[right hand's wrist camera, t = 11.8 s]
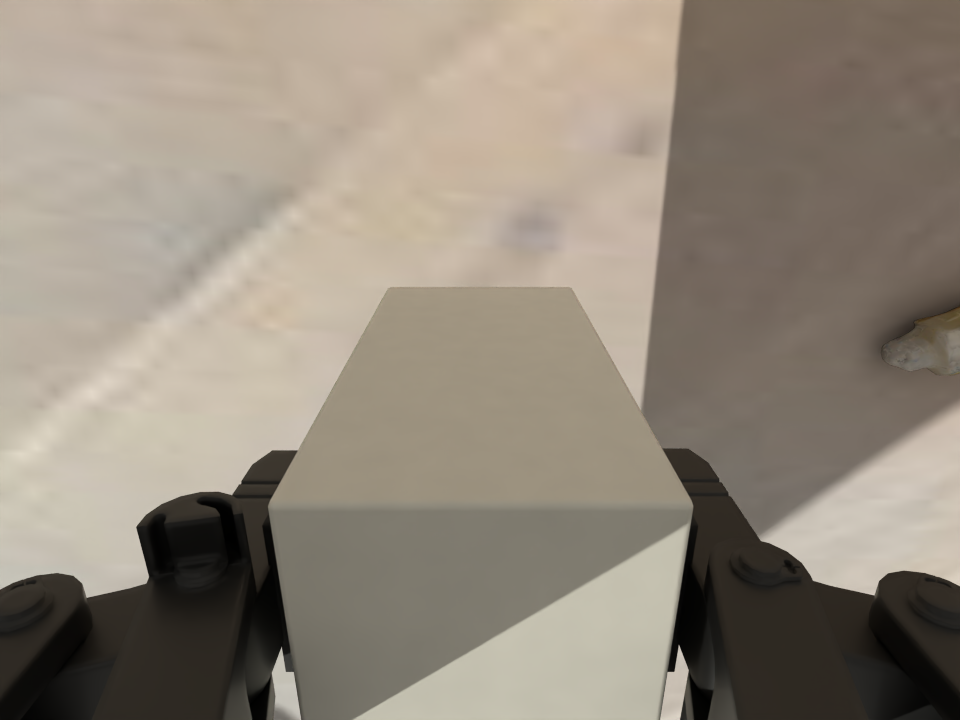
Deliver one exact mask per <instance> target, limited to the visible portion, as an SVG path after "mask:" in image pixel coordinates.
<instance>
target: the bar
mask: <svg viewBox="0 0 960 720" xmlns="http://www.w3.org/2000/svg"><path fill="white" fill-rule="evenodd" d="M268 510H269V516H270V523H271V529H272V536H273V542H274V548H275V555H276V561H277V567H278V574H279V580H280V587H281V593H282V599H283V606H284V612H285V618H286V625H287V631H288V637H289V644H290V650H291V657H292V663H293V669H294V676H295V682H296V688H297V695H298V701H299V708H300V714H301V720H660V716H661V710H662V703H663V697H664V691H665V684H666V678H667V672H668V665H669V659H670V652H671V646H672V640H673V633H674V627H675V621H676V614H677V608H678V601H679V595H680V589H681V582H682V576H683V570H684V563H685V557H686V550H687V544H688V538H689V531H690V525H691V519H692V512H693V504H692V501H691V499H690V497H689V495H688V494H687V492H686V490H685V488H684V486H683V485H682V483H681V481H680V479H679V478H678V476H677V474H676V472H675V471H674V469H673V467H672V465H671V463H670V462H669V460H668V458H667V456H666V455H665V453H664V451H663V449H662V448H661V446H660V444H659V442H658V440H657V439H656V437H655V435H654V433H653V432H652V430H651V428H650V426H649V424H648V423H647V421H646V419H645V417H644V416H643V414H642V412H641V410H640V409H639V407H638V405H637V403H636V401H635V400H634V398H633V396H632V394H631V393H630V391H629V389H628V387H627V386H626V384H625V382H624V380H623V378H622V377H621V375H620V373H619V371H618V370H617V368H616V366H615V364H614V363H613V361H612V359H611V357H610V355H609V354H608V352H607V350H606V348H605V347H604V345H603V343H602V341H601V340H600V338H599V336H598V334H597V332H596V331H595V329H594V327H593V325H592V324H591V322H590V320H589V318H588V317H587V315H586V313H585V311H584V309H583V308H582V306H581V304H580V302H579V301H578V299H577V297H576V295H575V294H574V292H573V290H572V288H570V287H391V288H388V290H387V291H386V293H385V295H384V297H383V299H382V300H381V302H380V304H379V306H378V308H377V309H376V311H375V313H374V315H373V317H372V318H371V320H370V322H369V324H368V326H367V327H366V329H365V331H364V333H363V335H362V336H361V338H360V340H359V342H358V344H357V345H356V347H355V349H354V351H353V353H352V354H351V356H350V358H349V360H348V362H347V363H346V365H345V367H344V369H343V371H342V372H341V374H340V376H339V378H338V380H337V381H336V383H335V385H334V387H333V389H332V390H331V392H330V394H329V396H328V398H327V399H326V401H325V403H324V405H323V406H322V408H321V410H320V412H319V414H318V415H317V417H316V419H315V421H314V423H313V424H312V426H311V428H310V430H309V432H308V433H307V435H306V437H305V439H304V441H303V442H302V444H301V446H300V448H299V450H298V451H297V453H296V455H295V457H294V459H293V460H292V462H291V464H290V466H289V468H288V469H287V471H286V473H285V475H284V477H283V478H282V480H281V482H280V484H279V486H278V487H277V489H276V491H275V493H274V495H273V496H272V498H271V500H270V502H269V505H268Z"/></svg>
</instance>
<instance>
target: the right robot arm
mask: <svg viewBox="0 0 960 720" xmlns="http://www.w3.org/2000/svg"><path fill="white" fill-rule="evenodd" d="M663 451H664V453H665V455H666V456H667V458H668V460H669V462H670V463H671V465H672V467H673V469H674V471H675V472H676V474H677V476H678V478H679V479H680V481H681V483H682V485H683V486H684V488H685V490H686V492H687V494H688V495H689V497H690V499H691V501H692V504H693V512H692V519H691V525H690V531H689V538H688V544H687V550H686V557H685V563H684V570H683V576H682V582H681V589H680V595H679V601H678V608H677V614H676V621H675V627H674V633H673V640H672V646H671V652H670V659H669V665H668V672H674V671H675V665H676V658H677V652H678V646H680V648H681V651H682V653H683V656H684V659H685V661H686V664H687V666H688V669H689V673H688V678H687V684H686V689H685V695H684V701H683V706H682V712H681V718H680V720H960V586H958V585H956V584H954V583H952V582H950V581H948V580H945V579H942V578H940V577H935V576H933V575H929V574H926V573H919V572H911V571H899V572H894V573H888V574H887V575H886V576H885V577H883V578H882V579H881V580H880V581H879V583H878V587H877V590H876V593H875V596H874V595H869V594H865V593H860V592H856V591H851V590H846V589H842V588H837V587H833V586H829V585H825V584H822V583H818V582H815V581H813V580H812V578H811V576H810V574H809V573H808V571H807V570H806V569H805V567H804V566H803V564H802V563H801V562H800V561H798V560H797V559H796V558H794V557H793V556H792V555H791V554H789V553H788V552H787V551H784V550H782V549H780V548H778V547H776V546H774V545H772V544H770V543H766V542H762V541H760V539H759V538H758V536H757V535H756V533H755V532H754V530H753V529H752V527H751V526H750V524H749V523H748V521H747V520H746V518H745V517H744V515H743V514H742V512H741V511H740V510H739V508H738V507H737V505H736V504H735V502H734V501H733V499H732V498H731V496H728V492H727V490H726V489H725V487H724V486H723V484H722V483H720V482H719V478H718V477H717V475H716V474H715V472H714V471H713V469H712V468H711V466H710V465H709V463H708V462H706V461H705V460H703V459H702V458H701V457H699V456H698V455H696V454H695V453H694V452H692V451H691V450H689V449H663ZM296 453H297V451H271V452H270V453H268V454H267V455H265V456H264V457H263V458H261V459H260V460H258V461H257V462H256V463H254V464H253V465H252V466H251V468H250V469H249V471H248V472H247V474H246V475H245V477H244V478H243V480H242V481H241V482H242V483H241V484H239V486H238V487H237V489H236V490H235V492H234V493H233V495H229V494H225V493H221V492H199V493H194V494H190V495H185V496H181V497H178V498H176V499H173V500H171V501H169V502H166V503H164V504H161V505H160V506H158V507H157V508H156V509H154V510H153V511H151V512H150V513H148V514H147V515H146V516H145V517H144V518H143V519H142V521H141V522H140V523H139V524H138V526H137V527H136V528H137V532H138V535H139V539H140V543H141V547H142V551H143V555H144V558H145V562H146V566H147V570H148V574H149V579H148V581H147V584H144V585H140V586H137V587H133V588H130V589H125V590H121V591H116V592H112V593H107V594H103V595H98V596H94V597H89V598H86V595H85V591H84V588H83V585H82V583H81V582H80V581H78V580H77V579H76V578H75V577H74V576H71V575H65V574H59V573H55V574H46V575H37V576H34V577H31V578H27V579H24V580H20V581H18V582H15V583H12V584H10V585H8V586H6V587H4V588H3V589H1V590H0V720H273V715H274V705H275V691H274V684H273V678H272V671H273V668H274V665H275V663H276V660H277V657H278V655H279V652H280V649H281V647H282V650H283V656H284V662H285V668H286V672H294V669H293V663H292V657H291V650H290V644H289V637H288V631H287V625H286V618H285V612H284V606H283V599H282V593H281V587H280V580H279V574H278V567H277V561H276V555H275V548H274V542H273V536H272V529H271V523H270V516H269V510H268V505H269V502H270V500H271V498H272V496H273V495H274V493H275V491H276V489H277V487H278V486H279V484H280V482H281V480H282V478H283V477H284V475H285V473H286V471H287V469H288V468H289V466H290V464H291V462H292V460H293V459H294V457H295V455H296Z"/></svg>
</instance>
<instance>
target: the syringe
mask: <svg viewBox="0 0 960 720" xmlns="http://www.w3.org/2000/svg"><path fill="white" fill-rule="evenodd" d="M914 324H915V328H914V329H913V330H911V331H910V332H909V333H907V334H906V335H904V336H902V337H899V338H896V339H894V340H891V341H889V342H888V343H886V344H885V345H884V346H883V347H882V350H881V355H882V358H883V360H884V361H885V362H886V363H888V364H890V365H892V366H896V367H899V368H901V369H903V370H906V371H914V370H918V369H922V368H927V369H929V370H930V371H932V372H933V373H934V374H936V375H955V374H958V373H960V306H959V307H957V308H955V309H953V310H950V311H948V312H946V313H943V314H939V315H936V316H932V317H927V318H922V319H918V320H916V321H914Z"/></svg>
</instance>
